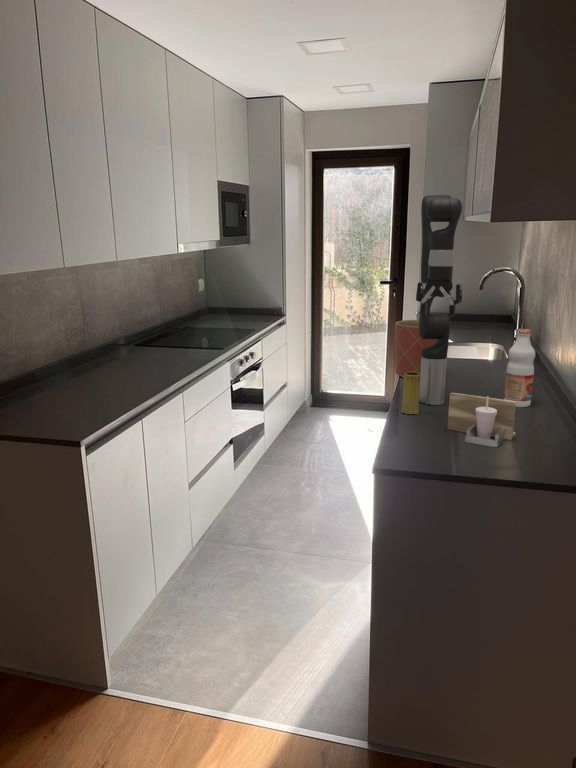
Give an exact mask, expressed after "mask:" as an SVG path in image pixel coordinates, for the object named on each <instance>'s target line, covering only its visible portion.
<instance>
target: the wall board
mask: <svg viewBox="0 0 576 768" xmlns="http://www.w3.org/2000/svg"><path fill="white" fill-rule="evenodd" d="M448 401H449V402H448V403H449V404H448V417H447V427H446V429H447V430H450V431H455V432H462V433H467V429H468V428H469V427H470V426H471V425H472V424H473V423H476V424H477V418H476V412H475V411H476V408H478V407H486V401H487V396H481V395H472V394H466V393H460V392H459V393H458V392H450V393H449V400H448ZM488 407H490V408H494V409H496V410H497V415H496V417H495V421H494V425H493V430H492V434H491V438H495V435H496V434H497V432H498V431H499V430H500V429H501V428H505V434H504V440H507V441H508V440H509V441H513V439H514V437H516V432H515V431H514V430H515V419H516V418H515V417H516V410H517V409H516V408H517V407H516V401H509V400H504V399H501V398H494V397H489V401H488ZM476 435H477V431H476Z"/></svg>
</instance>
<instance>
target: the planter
mask: <svg viewBox="0 0 576 768" xmlns="http://www.w3.org/2000/svg"><path fill="white" fill-rule="evenodd" d="M394 326H395V328H394V347H395V349H394V351H395V352H394V353H395V354H394V356H395V357H394V358H395V359H394V360H395V361H394V363H395V365H394V366H395V367H394V368H395V374H397V376H399V377H400V376H401V375H402V376H404V374H405V373H406V372H417V373H419V374H421V355H422V350H423V349H424V348H426V347H429V346H431V345H433V344H435V343H436V342H437V340H438V339H422V338H421V337H420V335H419V319H406V320H405V319H404V320H397V321H396V322H395V323H394Z"/></svg>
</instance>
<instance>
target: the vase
mask: <svg viewBox="0 0 576 768" xmlns="http://www.w3.org/2000/svg"><path fill="white" fill-rule="evenodd" d="M402 391H403V392H402V400H401V411H400V412H401V414H403V413H405V414H404V415H407V414H416V415H418V414H419V412H420V411H419V410H420V409H419V405H420V404H419V403H420V402H419V391H420V374H419V373H417V372H406V373H405V374H404V378H403V390H402Z"/></svg>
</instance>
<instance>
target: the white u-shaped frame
mask: <svg viewBox="0 0 576 768" xmlns="http://www.w3.org/2000/svg"><path fill="white" fill-rule="evenodd" d="M476 431H477V424H476V423H473V424H472V425H471V426H470V427H469V428H468V429H467V432H465V433H466V434H465V436H464V437H465V438H464V442H465V443H470V444H476V445H481V446H486V447H490V448H498V447H499V446H500V445H501V443H502V442H503V441H504V440H505V439H504V434H505V428H501V429H500V430H499V431H498V432H497V434H496V435H495V437H494V439H493V438H491V439H488V438H483V437H477V436H476V435H477V434H476Z"/></svg>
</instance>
